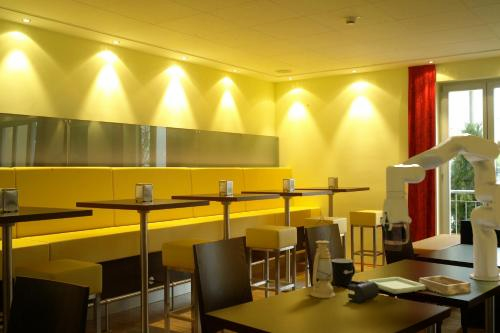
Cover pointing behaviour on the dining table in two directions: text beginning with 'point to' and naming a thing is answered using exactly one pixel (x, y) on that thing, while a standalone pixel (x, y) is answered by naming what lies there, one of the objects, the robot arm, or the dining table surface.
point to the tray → (398, 285)
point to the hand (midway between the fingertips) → (396, 239)
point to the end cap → (363, 292)
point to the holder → (445, 285)
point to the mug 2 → (396, 237)
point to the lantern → (322, 270)
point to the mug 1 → (342, 271)
